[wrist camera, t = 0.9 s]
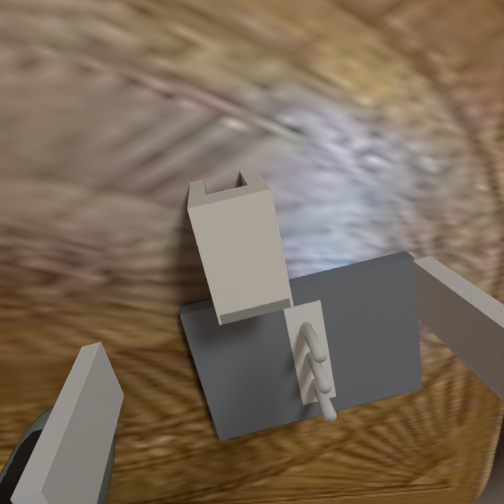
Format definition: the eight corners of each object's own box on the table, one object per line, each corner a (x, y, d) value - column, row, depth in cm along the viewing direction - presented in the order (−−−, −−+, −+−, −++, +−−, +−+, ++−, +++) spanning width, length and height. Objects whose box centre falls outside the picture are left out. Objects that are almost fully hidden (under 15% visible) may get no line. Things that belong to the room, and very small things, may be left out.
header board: (219, 429, 39) (222, 483, 34) (180, 306, 34) (176, 346, 29) (414, 378, 40) (449, 423, 35) (405, 251, 35) (444, 279, 29)
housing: (215, 275, 34) (219, 325, 26) (190, 182, 31) (187, 209, 23) (272, 261, 34) (294, 307, 26) (253, 167, 31) (271, 189, 23)
